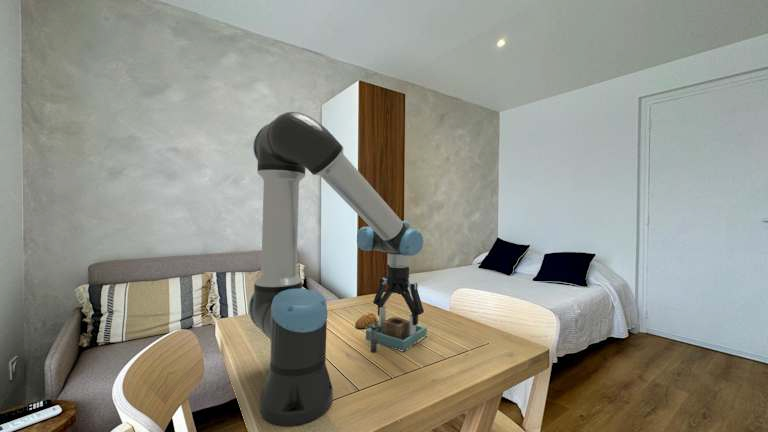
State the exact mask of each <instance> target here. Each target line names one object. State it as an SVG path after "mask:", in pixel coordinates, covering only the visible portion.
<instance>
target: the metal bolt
mask: <svg viewBox="0 0 768 432" xmlns="http://www.w3.org/2000/svg"><path fill="white" fill-rule="evenodd" d="M378 327H379V323H378V324H377V323H371V324H370V328H371V341H370V352H371V353H373V354H375V353H377V348H378V347H377V344H378V343H377V328H378Z"/></svg>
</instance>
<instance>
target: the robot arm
mask: <svg viewBox="0 0 768 432" xmlns="http://www.w3.org/2000/svg"><path fill="white" fill-rule="evenodd" d="M253 154H254V157H255V159H256V161H257V174H258V176H260V177H261V178H262V180H263V189H262V190H263V194H262V195H263V196H262V199H263V200H262V229H261V231H262V232H261V233H262V234H261V267H260V268H261V270H260V275H259V276H258V277H257V278H256V279H255V280H254V282H253V283H254V284H253V285H254V286H253V293H252V295H251V297H250V300H249V303H248V313H249V318H250V319H251V321H252V323H253V324H254V326H255V327H256V328H258V329H259V330H260V331H261V332H262V333H263V334H264V335H265V336H266V337H267V338H268V339H269V340H270V358H269V359H270V360H269V362H270V363H269V372H268V375H267V377H266V381H265V385H264V388H263V390H262V393H261V395H260V398H259V399H260V400H259V401H260V402H259V403H260V404H259V406H260V407H259V409H260V410H259V411H260V415H261V416H262V418H263V419H265V420H266V421H268V422H269V423H272V424H273V425H278V426H296V425H302V424H305V423H309V422H311V421H314V420H316V419H317V418H320V416H322V415H324V414H325V413H326V412H327V410H329V408H330V407H331V405H332V403H333V394H334V393H333V391H334V389H333V385H332V382H331V378H330V374H329V371H328V368H327V365H326V357H327V355H326V354H327V353H326V352H327V351H326V350H327V349H326V348H327V326H328V325H327V322H328V320H327V319H328V314H329V313H328V308H327V307H328V306H327V300H326V298H325V297H324V295H322V293H320V292H318V291H316V290H312V289H310V290H308V288H303V278H302V277H300V275H299V274H298V273H297V271H298V270H297V269H298V268H297V265H298V264H297V263H298V261H297V260H298V232H299V231H298V230H299V229H298V227H299V193H300V182H301V181H302V180H303V179H304V178H305V177H306V169H307V170H308V171H309V172H310V173H311V175H312V176H320V177H321V178H322V179H323V180H324V181H325V182H326V183H327V185H329V186H330V187H331V189H332V190H334V192H335V193H336V194H337V195H339V197H340V198H341V199H342V200H344V202H345V203H346V204H347V205H348V206H349V207H351V209H352V210H353V211H354V212H355V213H356V214H357V215H358V216H359V217H360V218H361V219H362V220H363V221H364V222H365V224H367V225H368V226H362V227H360V229H359V230H358V231H357V233H356V244H357V247H358V248H359V249H360V250H362V251H367V252H368V251H369V252H370V251H379V252H383V253H387V263H386V264H387V265H388V266H387V267H386V268H387V269H386V276H387V278H386V277H382V278H380V279H379V285H378V288H377V290H376V293H375V296H374V299H373V301H372V302H373V305H376V306H377V315H378V316H379V318H378V321H379V323H378V324H379V326H380V327H381V326H382V322H383V321H385V320H386V311H387V307H386V304H385V303H387V301H388V300H389V298H390V297H391V295H392V294H397V295H401V297H402V298H403V299H404V301H405V303H406V305H407V307H408V309H409V311H410V312H411V314H410V315H409V321H410V334H409V335H412V334H414V333H415V332H416V325H418V324H419V316H420V315H422V314H424V312H425V310H424V306H423V305H422V301H421V298H420V297H421V296H420V295H419V291H418V283H417V282H413V283H412V282H410V280H409V279H410V267H409V265H410V260H411V256H412V257H413V256H417V255H418V254H419V253H420V252H422V248H423V247H424V237H423V234H422V233H421V231H419V230H418V229H415V228H412V227H411V223H410V222H409V221H407V220H401V219H400V217H399V216H398V215H397V214H396V213H395V211H394V210H393V209H392V207H390V206H389V205H388V203H387V202H386V201H385V200H384V199H383V197H382V196H380V194H379V193H378V192H377V191H376V190H375V189H374V188H373V186H372V185H371V184H370V183H369V182H368V181H367V179H366V178H365V177H364V176H363V175H362V173H360V171H359V170H358V169H357V168H356V167H355V166H354V164H353V163H352V162H351V161H350V160H349V159H348V158H347V157H346V155H345V154H344V146H343V145H342V144H341V143H340V142H339V140H337V138H336V137H335V136H334V135H333V134H332V133H331V132H330V131H329V130H328V129H327V128H326V127H325V126H324V125H322V124H321V123H320V122H318V120H316V119H314V117H311V116H310V115H308V114H305V113H302V112H298V111H289V112H285V113H282V114H280V115H278V116H277V117H276V118H274V120H272V121H271V122H269V123H268V124H266V125H264V126H262V128H260V129H259V131H258V132H257V134H256V135H255V137H254V141H253ZM387 286H388V288H386V287H387ZM408 288H409V289H408ZM385 289H386V290H385ZM409 290H410V291H409ZM384 292H385V293H384Z"/></svg>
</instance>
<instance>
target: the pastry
mask: <svg viewBox="0 0 768 432" xmlns="http://www.w3.org/2000/svg"><path fill="white" fill-rule="evenodd" d="M371 323H377V324H379V318H378V317H377V315H376V314H375V313H367V314H364V315H362V316H360V318H358V319H357V320H356V321H355V323H354V324H355V328H358V329H361V328H365V329H367V328H366V327H370V324H371Z"/></svg>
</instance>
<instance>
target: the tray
mask: <svg viewBox="0 0 768 432" xmlns="http://www.w3.org/2000/svg"><path fill="white" fill-rule="evenodd" d="M427 329H428V328H427V327H425V326H421V325H418V324H417V325H416V332H415V333H414V334H412V335H410V336H409V337H407V338H406V339H404V340H401V339H398V338H394V337H391V336H388V335H385V334H382V326H381V327H380V326H379V327H378V328H377V344H379V343H380V344H379V345H382V344H383V345H382V346H385V345H387V346H386V347H388V346H390V347H389V348H391V347H393V348H392V349H394V348H397V349H400V350H403V351H405V350H406V349H407V348H409V347H410V346H411V345H413V344H414V343H415V342H417V341H418V340H419V339H421V338H422V337H424V336H425V335H426V334H427V333H428V332H427ZM427 335H428V334H427ZM365 340H367V341H370V342H371V328H366V330H365ZM413 346H414V345H413ZM410 348H411V347H410ZM410 348H409V349H410ZM397 349H396V350H397ZM400 350H399V351H400ZM403 351H402V352H403ZM406 351H407V350H406ZM406 351H405V352H406Z"/></svg>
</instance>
